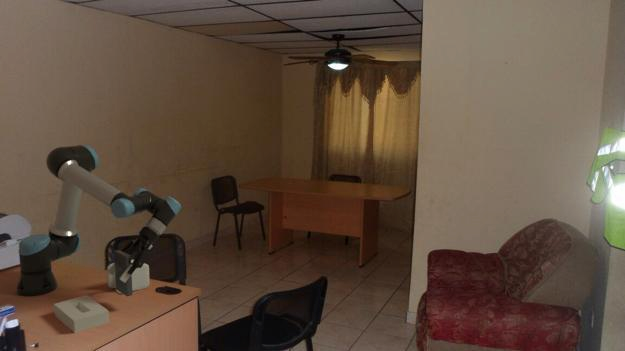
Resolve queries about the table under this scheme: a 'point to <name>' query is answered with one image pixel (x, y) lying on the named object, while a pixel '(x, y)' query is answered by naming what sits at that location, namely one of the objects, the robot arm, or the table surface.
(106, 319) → the slotted box
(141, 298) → the table surface
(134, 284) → the cable organizer
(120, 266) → the cover plate
